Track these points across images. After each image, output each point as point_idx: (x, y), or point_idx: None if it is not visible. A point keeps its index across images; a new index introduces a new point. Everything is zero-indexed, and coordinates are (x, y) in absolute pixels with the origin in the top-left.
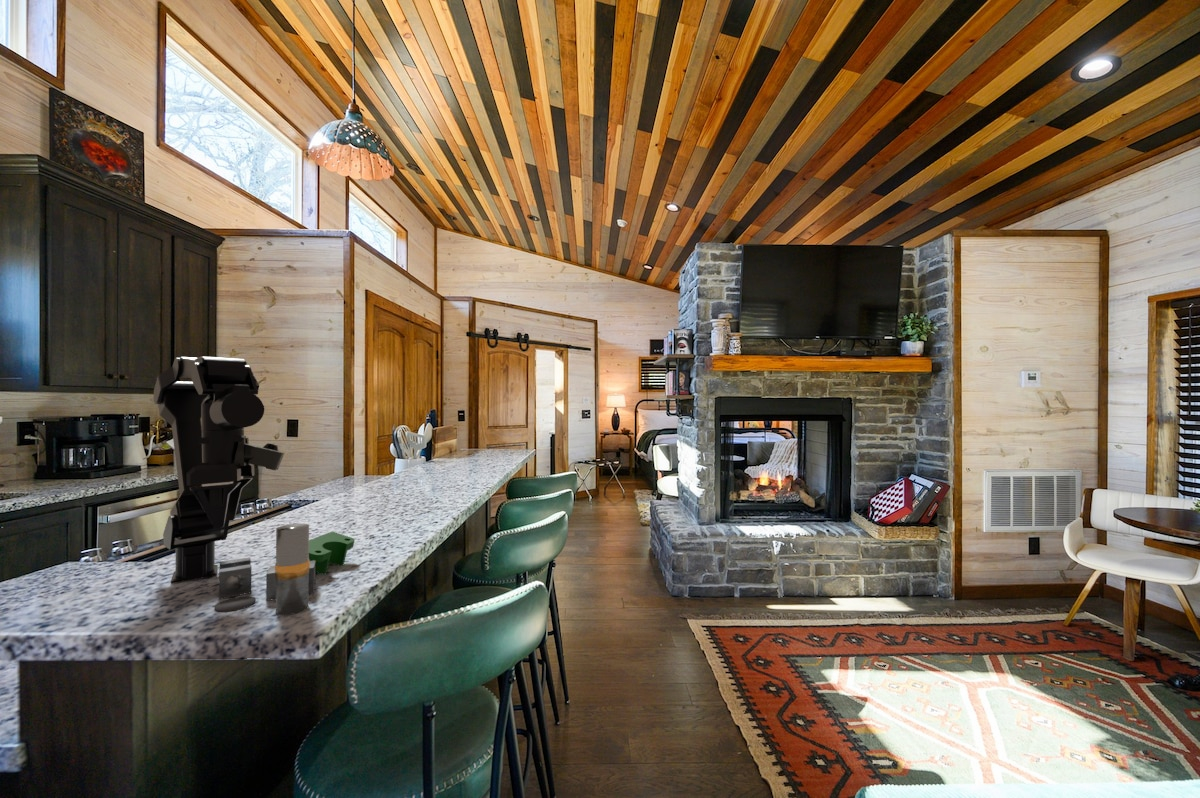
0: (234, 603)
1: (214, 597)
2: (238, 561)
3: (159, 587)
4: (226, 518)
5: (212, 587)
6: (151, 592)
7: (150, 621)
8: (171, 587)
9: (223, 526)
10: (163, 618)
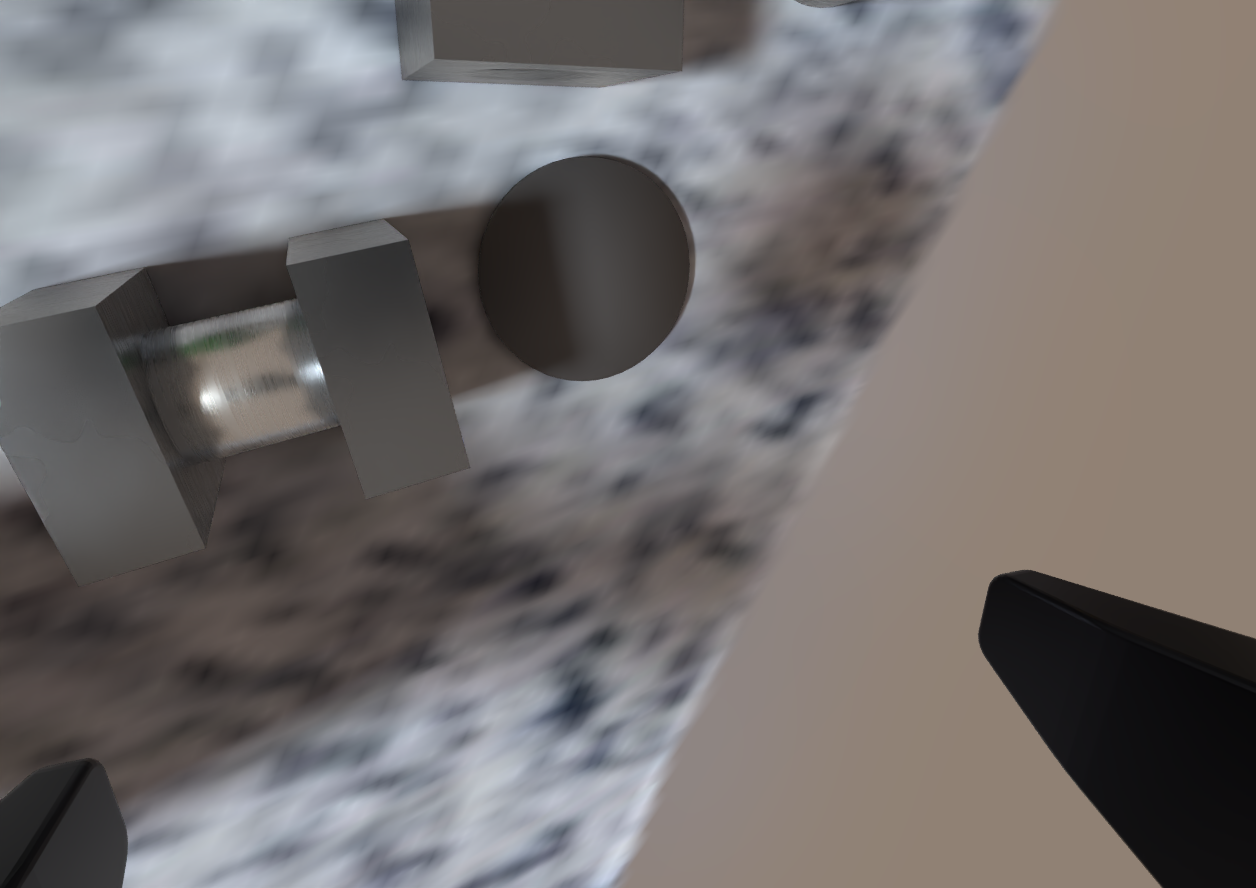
0: (601, 277)
1: None
2: (121, 416)
3: None
4: (120, 882)
5: None
6: None
7: (643, 604)
8: None
9: (1023, 570)
10: (630, 567)
